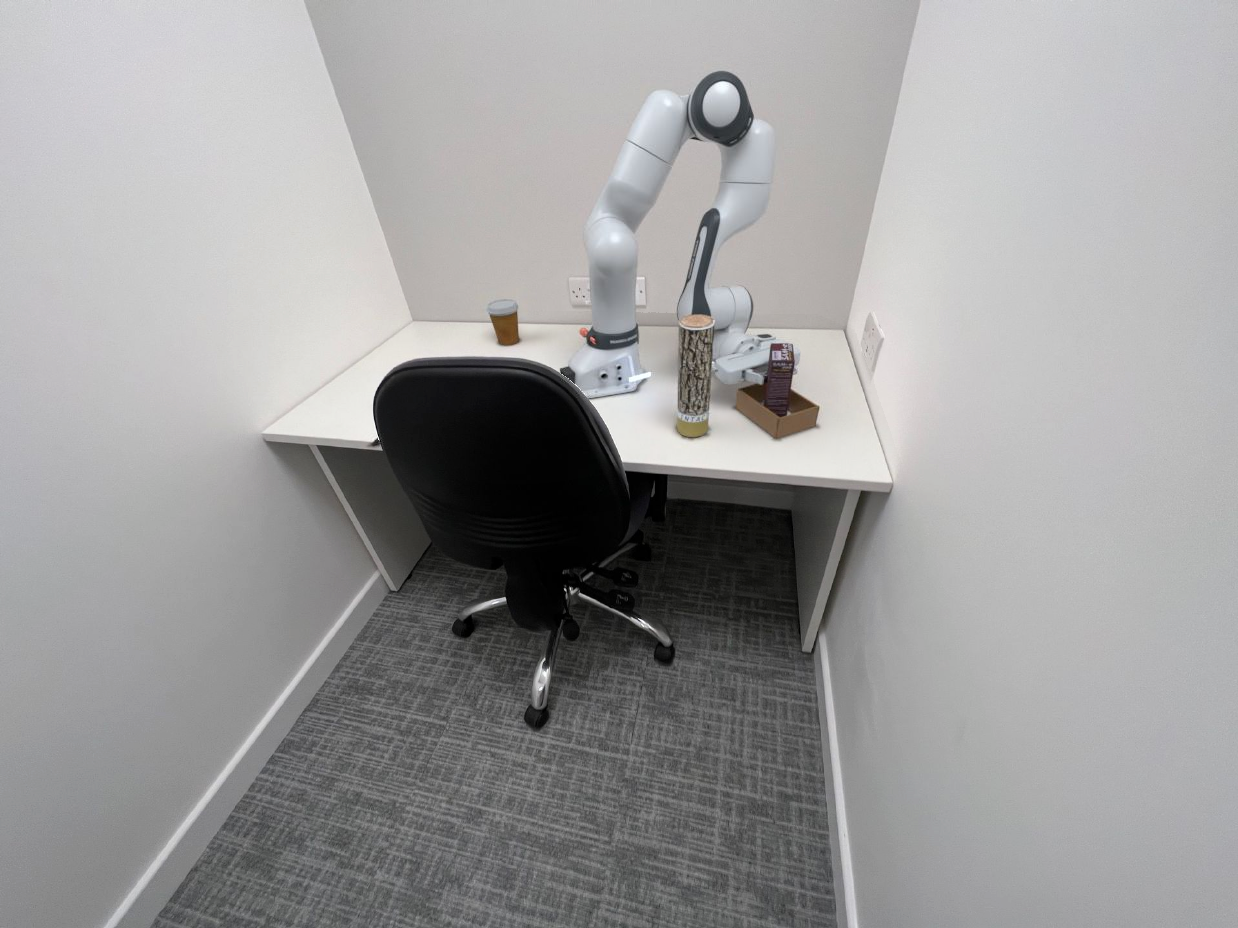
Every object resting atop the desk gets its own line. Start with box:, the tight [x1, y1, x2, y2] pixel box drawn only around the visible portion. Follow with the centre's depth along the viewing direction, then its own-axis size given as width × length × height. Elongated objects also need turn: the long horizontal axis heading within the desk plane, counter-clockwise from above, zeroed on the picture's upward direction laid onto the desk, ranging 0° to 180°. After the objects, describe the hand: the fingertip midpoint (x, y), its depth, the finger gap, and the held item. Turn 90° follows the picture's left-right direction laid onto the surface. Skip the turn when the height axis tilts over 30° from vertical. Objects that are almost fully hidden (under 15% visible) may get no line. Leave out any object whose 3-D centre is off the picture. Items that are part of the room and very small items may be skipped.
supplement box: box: [763, 342, 795, 417], centre depth 107 cm, size 9×5×16 cm, turn 168°
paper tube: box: [676, 314, 715, 438], centre depth 102 cm, size 7×7×25 cm
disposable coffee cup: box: [486, 298, 520, 346], centre depth 153 cm, size 10×10×12 cm
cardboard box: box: [735, 382, 820, 440], centre depth 111 cm, size 10×15×5 cm
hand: (780, 376), depth 107 cm, fingers closed on supplement box, 7 cm apart
